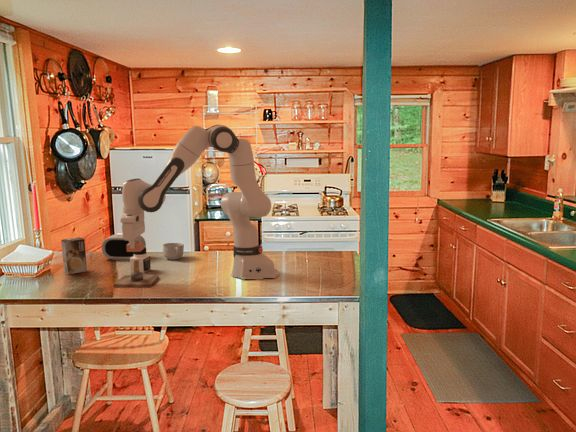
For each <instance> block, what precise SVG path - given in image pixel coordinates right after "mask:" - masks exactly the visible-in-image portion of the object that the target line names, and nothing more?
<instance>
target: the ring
mask: <svg viewBox="0 0 576 432" xmlns="http://www.w3.org/2000/svg"><path fill="white" fill-rule="evenodd" d="M134 244H135V248H134V249H131V248H130V243H129V244H127V245H126V247H127V252H140V251H142V250H143V249H144V243H143V242H134Z"/></svg>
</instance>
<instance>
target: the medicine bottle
mask: <svg viewBox="0 0 576 432" xmlns="http://www.w3.org/2000/svg"><path fill="white" fill-rule="evenodd" d="M133 255H134V256H133V257H131V258H130V260H129V265H130V266H129V268H130V269H129V270H130V271H129V272H130V273H132V272H134V267H133V260H139V272H143V274H145V273H146V272H148V271H150V270H151V269H152V268H151V267H152V265H151V255H147V246H146V247H144V249H143V250H142V251H140V252H133Z"/></svg>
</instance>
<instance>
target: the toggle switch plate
mask: <svg viewBox="0 0 576 432" xmlns="http://www.w3.org/2000/svg"><path fill="white" fill-rule="evenodd" d="M133 267H134V272H130V274H127V275H126V274H125V275H123V276H121V278H119V279H118V280H117V281H116V282H114V283H113V287H114V288H151V287H152V286H154V284H155V283H156V282H157V281H158V280H159V278H160V275H155V274H154V275H153V274H152V275H149V274H148V275H143V274H144V273H143V272H139V260H133Z"/></svg>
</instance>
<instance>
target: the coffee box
mask: <svg viewBox="0 0 576 432" xmlns="http://www.w3.org/2000/svg"><path fill="white" fill-rule="evenodd" d="M61 250H62V251H61V252H62V262H63V263H62V264H63V272H64V273H65V274H67V275H73V274H78V273H79V274H80V273H85V272H88V267H87V255H86V243H85V238H83V237H79V236H78V237H71V238H64V239H61Z"/></svg>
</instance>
